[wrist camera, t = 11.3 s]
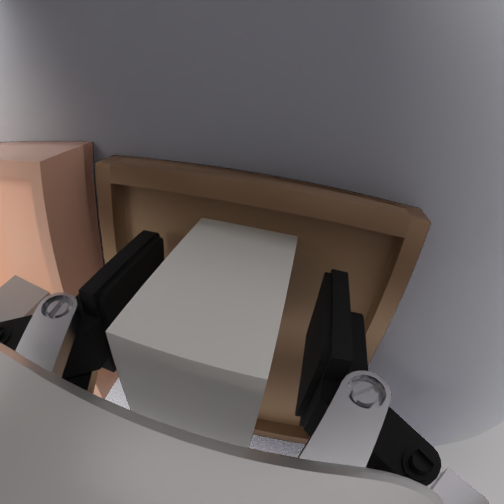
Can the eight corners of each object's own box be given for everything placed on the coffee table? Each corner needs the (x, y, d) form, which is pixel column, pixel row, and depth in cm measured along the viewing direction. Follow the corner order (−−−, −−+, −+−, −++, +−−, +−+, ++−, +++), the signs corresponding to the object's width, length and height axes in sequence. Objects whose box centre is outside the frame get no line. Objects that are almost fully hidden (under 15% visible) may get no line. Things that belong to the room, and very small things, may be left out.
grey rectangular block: (15, 274, 15) (-47, 330, 10) (49, 291, 15) (-17, 358, 10) (29, 318, 17) (-22, 373, 12) (62, 336, 17) (10, 400, 12)
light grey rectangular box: (201, 217, 11) (105, 331, 6) (298, 236, 11) (267, 379, 5) (199, 301, 13) (134, 419, 8) (279, 320, 12) (246, 454, 7)
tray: (113, 155, 11) (95, 163, 10) (420, 208, 9) (430, 222, 8) (144, 385, 18) (136, 398, 17) (319, 429, 17) (317, 445, 16)
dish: (-35, 144, 12) (-69, 159, 10) (92, 141, 11) (39, 161, 8) (6, 308, 19) (-16, 330, 17) (125, 365, 18) (103, 400, 15)
